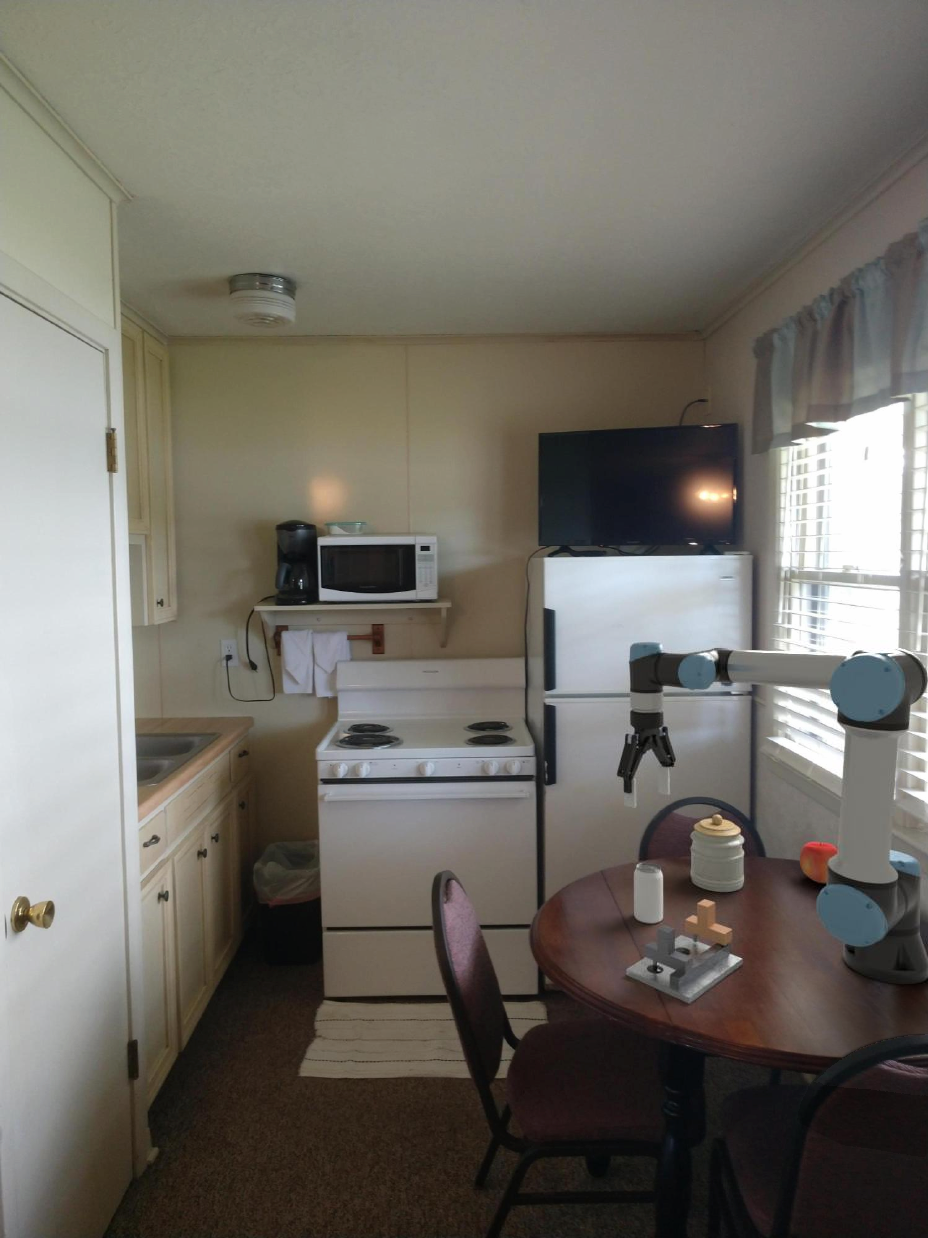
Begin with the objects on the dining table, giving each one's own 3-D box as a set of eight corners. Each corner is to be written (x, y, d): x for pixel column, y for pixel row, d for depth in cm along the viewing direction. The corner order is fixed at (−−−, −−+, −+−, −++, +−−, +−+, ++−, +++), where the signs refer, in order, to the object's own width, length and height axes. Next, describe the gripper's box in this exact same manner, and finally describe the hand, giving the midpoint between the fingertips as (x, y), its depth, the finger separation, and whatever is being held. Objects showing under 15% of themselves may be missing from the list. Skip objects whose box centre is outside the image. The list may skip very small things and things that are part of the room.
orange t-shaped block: (732, 951, 156) (732, 908, 156) (724, 956, 154) (724, 913, 154) (692, 936, 163) (692, 895, 162) (685, 941, 161) (685, 899, 160)
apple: (848, 889, 189) (849, 849, 188) (810, 889, 189) (810, 850, 188) (830, 873, 198) (830, 835, 198) (793, 874, 198) (793, 836, 198)
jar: (683, 886, 192) (683, 817, 191) (699, 868, 203) (699, 804, 202) (736, 897, 185) (736, 826, 184) (750, 879, 196) (750, 812, 195)
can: (663, 925, 172) (663, 873, 171) (634, 923, 173) (634, 872, 172) (662, 912, 178) (662, 862, 177) (633, 910, 179) (633, 861, 178)
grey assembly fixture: (742, 964, 154) (742, 914, 154) (689, 1004, 141) (689, 949, 140) (681, 940, 165) (681, 893, 164) (626, 975, 151) (626, 924, 150)
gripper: (662, 700, 187) (663, 785, 188) (600, 715, 170) (601, 808, 171) (690, 704, 181) (690, 791, 182) (628, 719, 164) (629, 816, 166)
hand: (647, 800), depth 177 cm, fingers open, 13 cm apart
